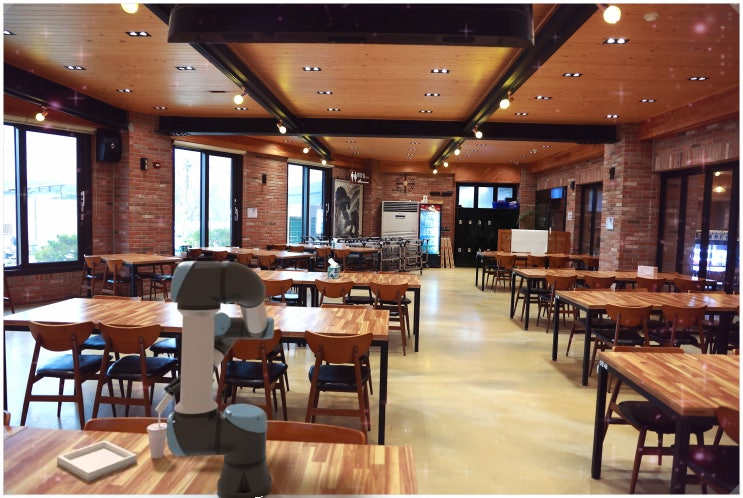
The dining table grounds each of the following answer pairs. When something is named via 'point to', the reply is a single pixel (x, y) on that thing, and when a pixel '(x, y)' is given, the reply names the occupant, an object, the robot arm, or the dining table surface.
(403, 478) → the dining table surface
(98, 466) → the tray
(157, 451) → the smoothie
